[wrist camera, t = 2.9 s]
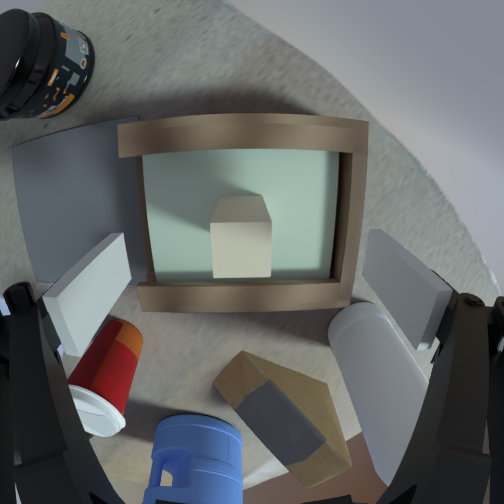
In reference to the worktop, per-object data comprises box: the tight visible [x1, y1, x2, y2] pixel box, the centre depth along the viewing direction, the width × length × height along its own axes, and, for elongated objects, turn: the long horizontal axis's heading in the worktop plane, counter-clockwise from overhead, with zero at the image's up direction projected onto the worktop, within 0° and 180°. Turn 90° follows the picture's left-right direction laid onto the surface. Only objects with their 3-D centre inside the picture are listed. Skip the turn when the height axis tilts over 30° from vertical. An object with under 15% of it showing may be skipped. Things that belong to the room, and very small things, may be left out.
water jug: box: [142, 414, 243, 504], centre depth 30 cm, size 16×16×28 cm
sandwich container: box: [213, 351, 352, 489], centre depth 30 cm, size 9×15×15 cm, turn 57°
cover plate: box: [142, 149, 339, 282], centre depth 19 cm, size 15×13×8 cm
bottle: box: [328, 302, 429, 487], centre depth 20 cm, size 8×8×30 cm
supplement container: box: [0, 9, 95, 121], centre depth 15 cm, size 10×10×12 cm
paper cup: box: [67, 319, 143, 437], centre depth 27 cm, size 8×8×14 cm
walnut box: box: [118, 113, 368, 313], centre depth 24 cm, size 18×15×7 cm
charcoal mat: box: [12, 116, 148, 285], centre depth 26 cm, size 18×18×1 cm
